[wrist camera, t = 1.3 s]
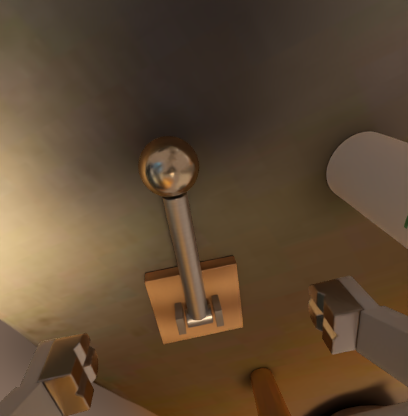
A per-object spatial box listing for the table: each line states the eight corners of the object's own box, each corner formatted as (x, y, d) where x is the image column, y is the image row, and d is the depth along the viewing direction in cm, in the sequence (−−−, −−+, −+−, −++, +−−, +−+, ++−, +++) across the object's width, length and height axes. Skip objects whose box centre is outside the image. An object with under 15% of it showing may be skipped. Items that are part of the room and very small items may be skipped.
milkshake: (243, 389, 45) (264, 470, 36) (247, 366, 42) (270, 447, 34) (272, 385, 45) (300, 464, 37) (277, 362, 43) (308, 441, 34)
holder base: (145, 272, 32) (143, 298, 29) (233, 255, 33) (242, 278, 30) (163, 334, 37) (163, 362, 34) (240, 317, 38) (248, 343, 34)
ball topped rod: (133, 135, 25) (128, 151, 21) (191, 125, 26) (197, 139, 21) (177, 309, 35) (180, 346, 31) (218, 301, 35) (227, 335, 31)
